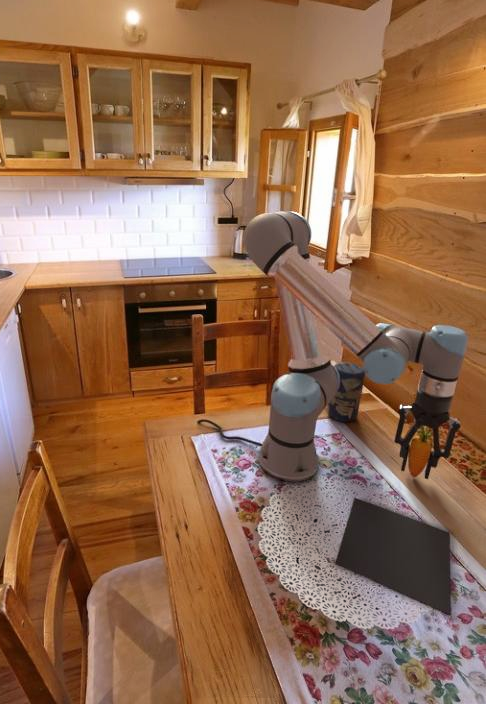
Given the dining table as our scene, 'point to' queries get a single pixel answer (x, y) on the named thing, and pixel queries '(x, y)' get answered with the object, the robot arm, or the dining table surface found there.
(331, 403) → the canister
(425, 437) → the carrot
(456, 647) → the dining table surface
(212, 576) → the dining table surface
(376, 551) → the mat
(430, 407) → the robot arm
